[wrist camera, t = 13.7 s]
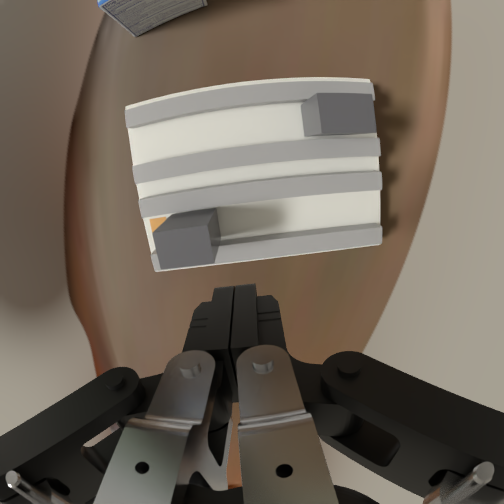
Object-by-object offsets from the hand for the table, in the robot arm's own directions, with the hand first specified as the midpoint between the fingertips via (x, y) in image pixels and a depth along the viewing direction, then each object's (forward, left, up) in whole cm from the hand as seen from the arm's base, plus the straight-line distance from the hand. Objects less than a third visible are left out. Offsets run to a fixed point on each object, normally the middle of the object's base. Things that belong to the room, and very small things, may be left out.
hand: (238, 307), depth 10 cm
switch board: (-4, +2, -17) cm, 18 cm away
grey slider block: (0, -4, -15) cm, 15 cm away
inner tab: (-8, +8, -15) cm, 18 cm away
